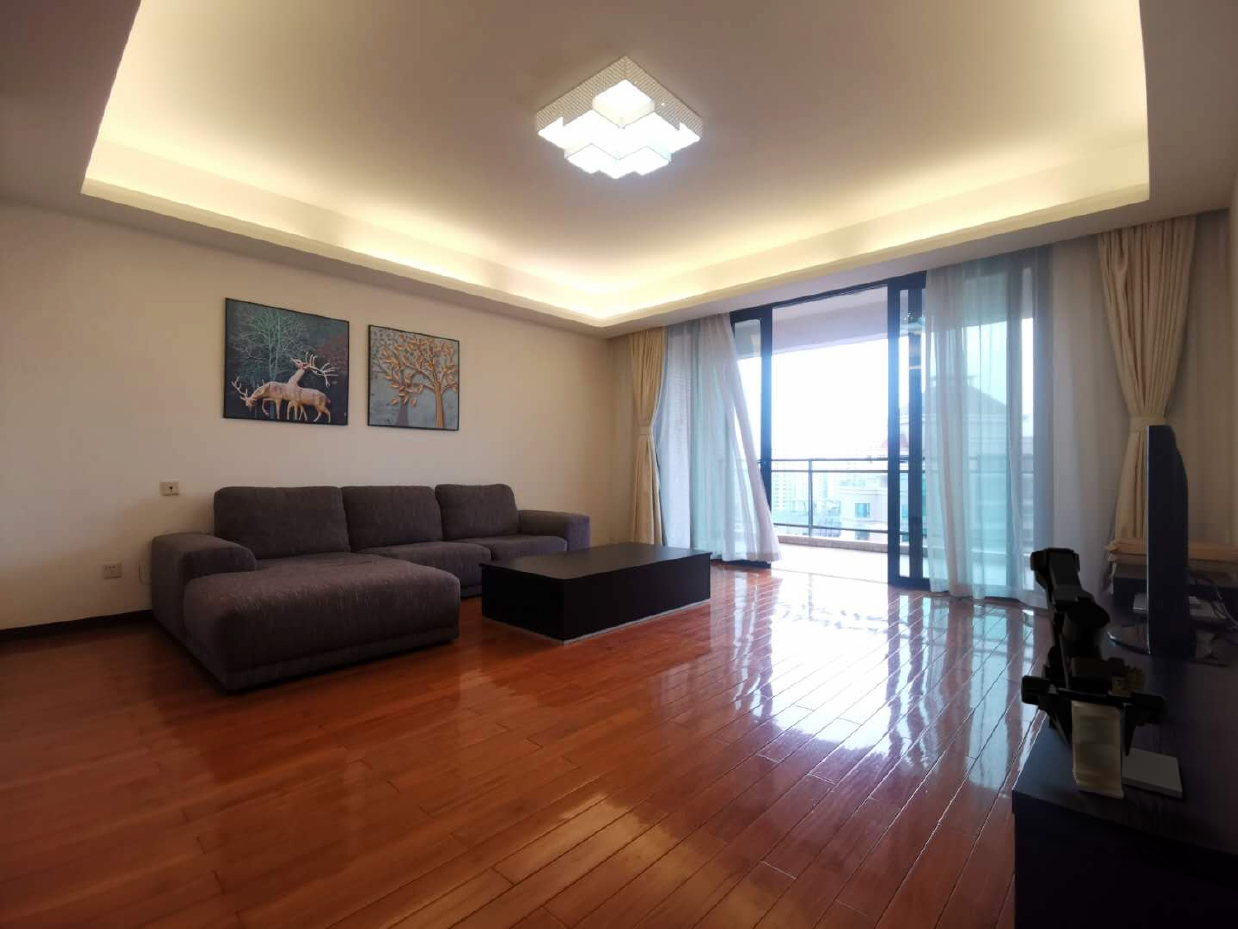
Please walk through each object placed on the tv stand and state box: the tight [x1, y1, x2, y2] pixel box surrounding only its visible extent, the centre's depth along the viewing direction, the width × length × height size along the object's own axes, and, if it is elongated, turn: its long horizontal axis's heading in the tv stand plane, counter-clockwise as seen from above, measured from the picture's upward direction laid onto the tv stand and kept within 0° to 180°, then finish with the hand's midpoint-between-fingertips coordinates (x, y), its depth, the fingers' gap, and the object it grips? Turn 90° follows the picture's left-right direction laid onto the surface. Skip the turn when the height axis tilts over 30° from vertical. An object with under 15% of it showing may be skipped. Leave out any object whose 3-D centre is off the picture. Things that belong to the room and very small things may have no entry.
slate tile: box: [1121, 747, 1183, 796], centre depth 95 cm, size 7×14×1 cm, turn 138°
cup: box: [1109, 664, 1147, 698], centre depth 124 cm, size 8×7×8 cm
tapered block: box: [1071, 701, 1125, 797], centre depth 92 cm, size 6×5×13 cm
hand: (1097, 749), depth 90 cm, fingers open, 7 cm apart
